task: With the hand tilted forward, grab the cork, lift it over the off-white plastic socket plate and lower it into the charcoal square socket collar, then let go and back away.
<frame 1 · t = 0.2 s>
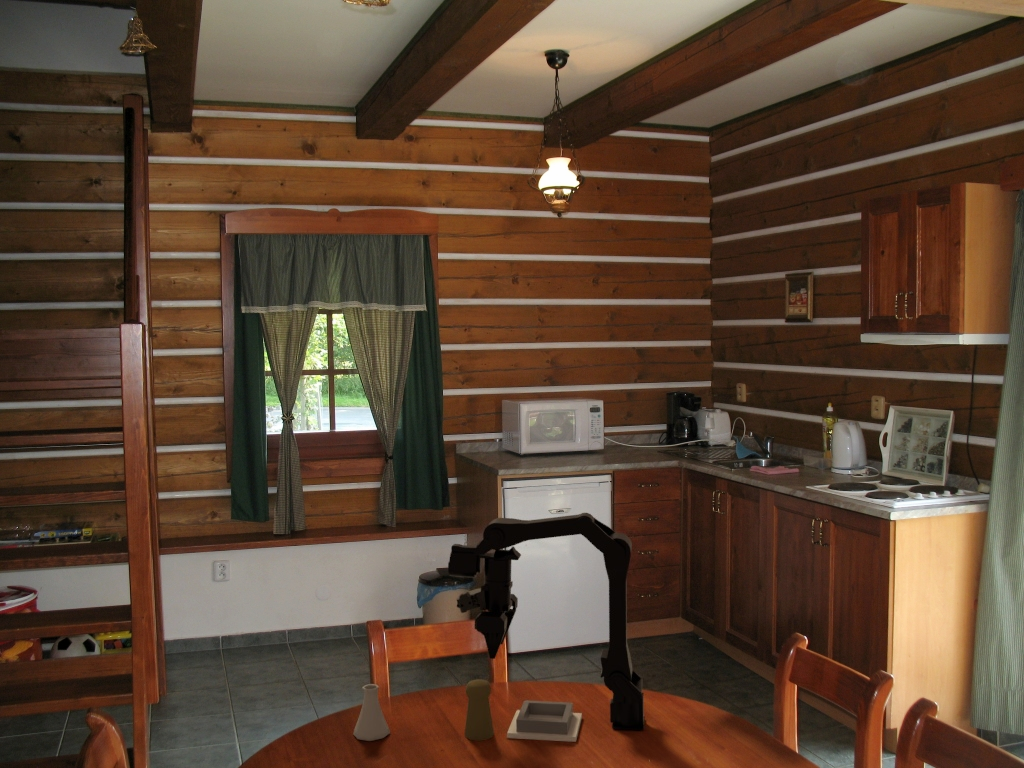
hand: (496, 651, 197), 14 cm above the table, tool pointing down, fingers open, 9 cm apart
cork: (479, 735, 189), on the table
flask: (371, 735, 190), on the table
socket: (545, 727, 192), on the table
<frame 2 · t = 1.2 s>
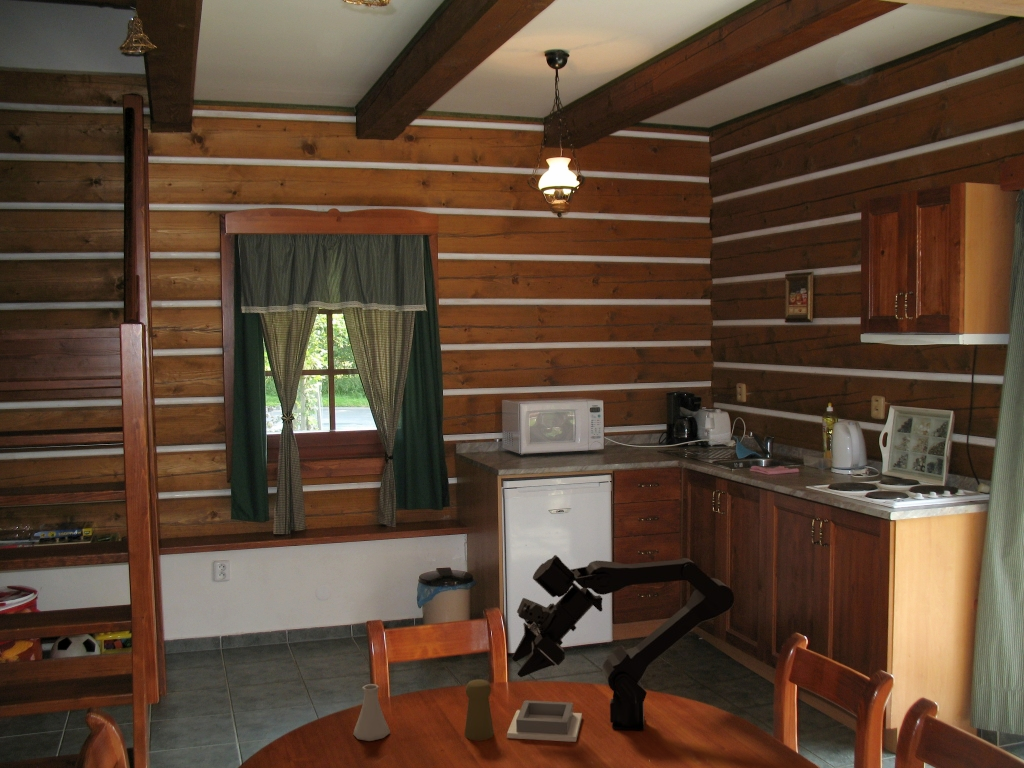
hand: (515, 667, 190), 13 cm above the table, tool tilted 45°, fingers open, 9 cm apart
nothing on the table moved.
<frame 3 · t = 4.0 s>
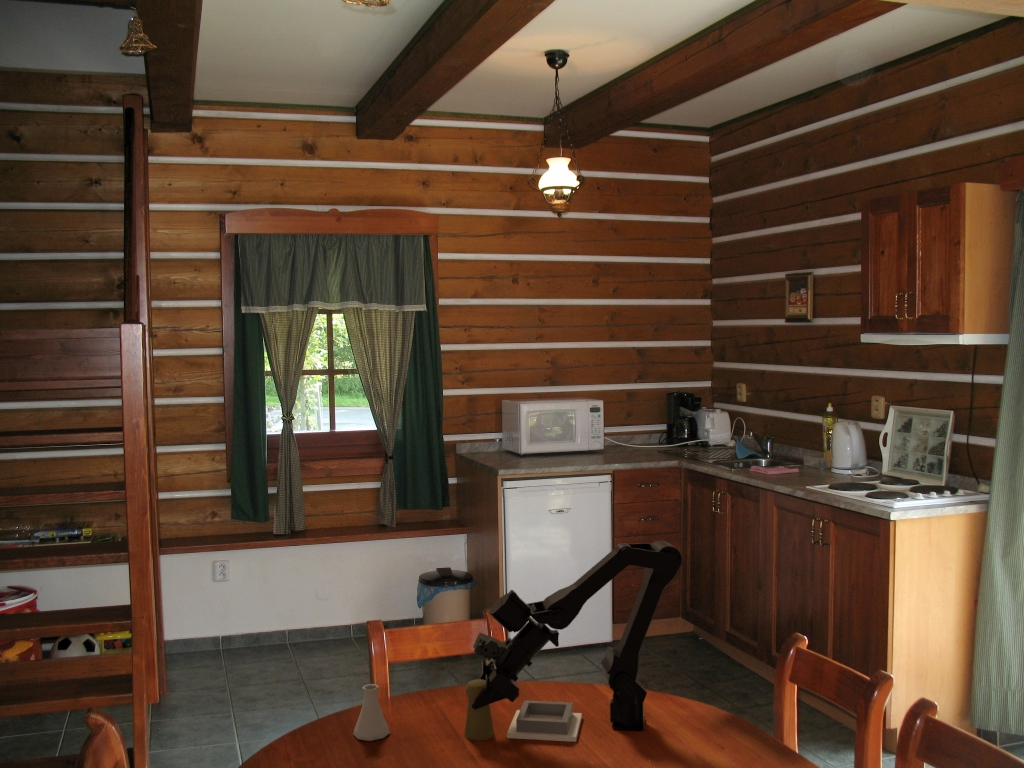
hand: (471, 703, 189), 7 cm above the table, tool tilted 45°, fingers closed on cork, 5 cm apart
cork: (479, 735, 189), on the table, touching gripper
everything else where it was.
when the fingers open (8 cm above the table, at t = 8.5 s): cork stays where it is, resting on socket.
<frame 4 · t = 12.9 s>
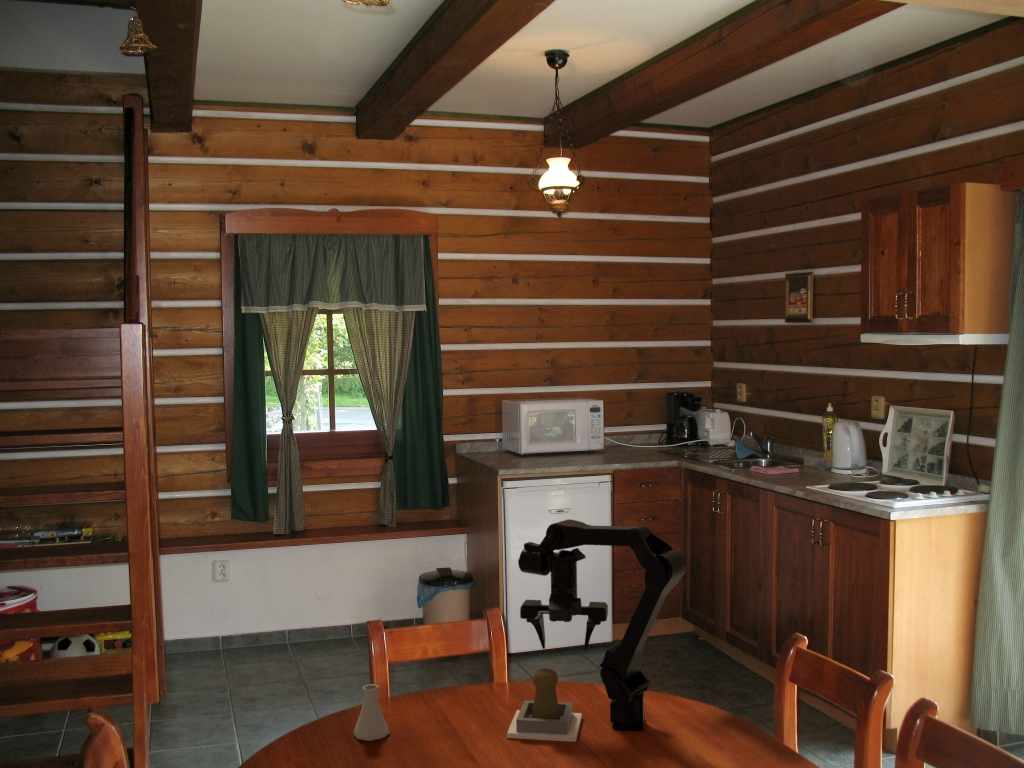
hand: (564, 649, 202), 13 cm above the table, tool pointing down, fingers open, 9 cm apart
cork: (546, 723, 192), point 1 cm above the table, touching socket
everything else where it was.
at the end: cork 0.2 cm off-centre on the socket, point 0.8 cm above the socket's base; cork tilted 0°; the gripper is holding nothing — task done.
